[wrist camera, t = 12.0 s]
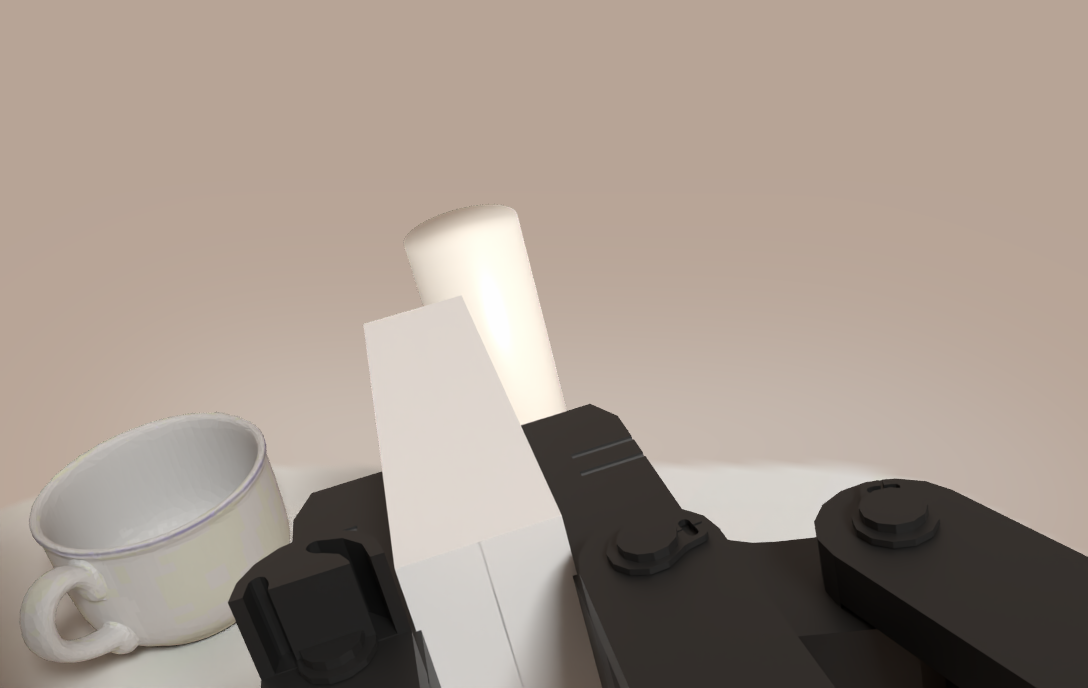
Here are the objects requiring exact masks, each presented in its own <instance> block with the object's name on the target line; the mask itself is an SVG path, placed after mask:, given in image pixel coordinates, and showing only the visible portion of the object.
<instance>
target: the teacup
mask: <svg viewBox="0 0 1088 688" xmlns="http://www.w3.org/2000/svg"><path fill="white" fill-rule="evenodd" d="M29 526H30V530H31V532H32V535H33V538H34V539H35V540H36V541H37V542H38V543H39V544H40V545H41V546H42V547H43V548H44V550H45V552H46V554H47V555H48V557H49V559H50V561H51V563H52V565H53V567H54V569H52V570H50V571H48V572H46V573H45V574H44V575H42V576H41V577H40V578H38V579H37V580H36V581H35V582H34V583H33V584H32V586H31V587H30V588H29V590H28V592H27V593H26V595H25V597H24V599H23V602H22V606H21V610H20V628H21V632H22V636H23V639H24V641H25V643H26V645H27V646H28V648H29V649H30V650H31V651H32V652H33V653H35V654H36V655H38V656H39V657H41V658H43V659H45V660H48V661H54V662H60V663H76V662H82V661H86V660H90V659H93V658H97V657H99V656H102V655H104V654H107V653H109V652H112V653H116V654H126V653H130V652H131V651H133V650H134V649H135V648H136V647H137V646H138V645H140V646H172V645H181V644H186V643H191V642H195V641H198V640H201V639H204V638H207V637H209V636H212V635H214V634H216V633H218V632H220V631H222V630H224V629H226V628H228V627H229V626H231V625H232V624H234V623H235V622H236V621H235V618H234V616H233V614H232V611H231V609H230V607H229V605H228V601H229V599H230V596H231V594H232V592H233V589H234V587H235V585H236V583H237V582H238V581H239V580H240V579H241V578H242V577H243V576H244V575H245V574H246V573H247V572H248V570H249V569H250V568H251V567H252V566H253V565H254V564H256V563H257V562H259V561H260V560H262V559H263V558H265V557H266V556H268V555H269V554H271V553H272V552H274V551H275V550H277V549H278V548H280V547H283V546H285V545H287V544H289V540H290V531H289V522H288V517H287V513H286V509H285V506H284V503H283V499H282V496H281V493H280V490H279V487H278V484H277V481H276V478H275V475H274V472H273V470H272V467H271V464H270V462H269V459H268V457H267V454H266V443H265V439H264V436H263V434H262V432H261V431H260V429H259V428H257V427H256V426H255V425H254V424H252V423H251V422H250V421H247V420H245V419H243V418H240V417H238V416H232V415H228V414H225V413H219V412H215V413H191V414H185V415H179V416H173V417H169V418H165V419H161V420H158V421H154V422H150V423H147V424H145V425H141V426H139V427H136V428H134V429H131V430H129V431H126V432H124V433H121V434H119V435H116V436H114V437H112V438H110V439H108V440H106V441H104V442H102V443H100V444H98V445H97V446H95V447H94V448H92V449H90V450H88V451H87V452H85V453H84V454H82V455H80V456H78V458H76V459H75V460H74V461H72V462H70V463H69V464H68V465H67V466H66V467H64V468H63V469H62V470H61V471H60V472H59V473H58V474H56V475H55V476H54V477H53V478H52V479H51V481H50V482H49V483H48V484H47V485H46V486H45V487H44V488H43V489H42V491H41V492H40V494H39V495H38V497H37V498H36V500H35V501H34V504H33V506H32V509H31V513H30V518H29ZM65 593H68V594H69V596H70V597H71V599H72V601H73V602H74V604H75V605H76V607H77V608H78V610H79V611H80V613H81V614H82V615H83V617H84V618H85V619H86V620H87V621H88V622H89V623H90V624H91V625H92V626H93V627H94V628H95V629H96V630H97V631H95V632H93V633H91V634H89V635H87V636H85V637H82V638H79V639H75V640H64V639H62V638H61V637H60V635H59V633H58V631H57V629H56V623H55V615H56V609H57V606H58V604H59V601H60V599H61V598H62V597H63V596H64V595H65Z"/></svg>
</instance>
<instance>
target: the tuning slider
mask: <svg viewBox="0 0 1088 688" xmlns="http://www.w3.org/2000/svg"><path fill="white" fill-rule="evenodd" d="M403 243H404V248H405V251H406V254H407V257H408V260H409V263H410V267H411V270H412V273H413V276H414V279H415V283H416V285H417V289H418V292H419V295H420V298H421V301H422V305H423V306H427V305H430V304H433V303H437V302H440V301H444V300H447V299H451V298H454V297H457V296H461V295H462V298H463V300H464V302H465V304H466V306H467V309H468V311H469V313H470V315H471V317H472V320H473V322H474V324H475V326H476V328H477V331H478V333H479V335H480V337H481V339H482V342H483V344H484V346H485V348H486V350H487V353H488V355H489V357H490V359H491V361H492V363H493V366H494V368H495V370H496V372H497V374H498V377H499V379H500V381H501V383H502V385H503V388H504V390H505V392H506V394H507V396H508V399H509V401H510V403H511V405H512V407H513V410H514V412H515V414H516V416H517V418H518V421H519V423H520V425H523V424H527V423H530V422H533V421H536V420H540V419H543V418H546V417H549V416H553V415H556V414H559V413H562V412H565V411H567V410H566V406H565V402H564V398H563V394H562V390H561V386H560V382H559V378H558V374H557V370H556V366H555V362H554V358H553V354H552V350H551V346H550V342H549V338H548V334H547V330H546V326H545V322H544V319H543V315H542V310H541V306H540V302H539V298H538V294H537V290H536V287H535V283H534V279H533V275H532V271H531V267H530V263H529V259H528V255H527V251H526V247H525V243H524V239H523V235H522V231H521V228H520V224H519V219H518V215H517V212H516V211H515V210H514V209H513V208H511V207H508V206H504V205H495V204H486V205H476V206H469V207H465V208H460V209H456V210H452V211H449V212H446V213H443V214H441V215H438V216H436V217H433V218H431V219H429V220H427V221H425V222H423V223H421V224H420V225H418V226H417V227H415V228H414V229H413V230H411V231H410V232H409V233H408V234H407V236H406V237H405V239H404V242H403Z"/></svg>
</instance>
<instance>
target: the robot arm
mask: <svg viewBox="0 0 1088 688" xmlns="http://www.w3.org/2000/svg"><path fill="white" fill-rule="evenodd" d="M364 332H365V340H366V347H367V356H368V363H369V370H370V378H371V387H372V394H373V402H374V411H375V418H376V426H377V433H378V442H379V449H380V458H381V465H382V472H379V473H376V474H372V475H369V476H366V477H363V478H360V479H356V480H353V481H350V482H347V483H343V484H340V485H337V486H334V487H331V488H327V489H324V490H321V491H318V492H314V493H312V494H311V495H310V497H309V498H308V500H307V501H306V503H305V504H304V506H303V507H302V509H301V510H300V512H299V513H298V515H297V516H296V518H295V519H294V522H293V542H292V543H290V544H287V545H285V546H283V547H280V548H278V549H277V550H275V551H274V552H272V553H271V554H269V555H268V556H266V557H265V558H263V559H262V560H260V561H259V562H257V563H256V564H254V565H253V566H252V567H251V568H250V569H249V570H248V572H247V573H246V574H245V575H244V576H243V577H242V578H241V579H240V580H239V581H238V582H237V583H236V585H235V587H234V589H233V592H232V594H231V596H230V599H229V601H228V605H229V607H230V609H231V611H232V614H233V616H234V618H235V621H236V623H237V625H238V627H239V630H240V632H241V634H242V637H243V639H244V641H245V643H246V646H247V648H248V650H249V653H250V655H251V657H252V660H253V662H254V664H255V666H256V669H257V671H258V673H259V676H260V678H261V688H1088V557H1087V556H1085V555H1083V554H1081V553H1079V552H1077V551H1075V550H1073V549H1071V548H1069V547H1067V546H1065V545H1063V544H1061V543H1058V542H1056V541H1054V540H1052V539H1050V538H1048V537H1046V536H1044V535H1042V534H1040V533H1038V532H1036V531H1034V530H1032V529H1030V528H1028V527H1026V526H1024V525H1022V524H1020V523H1018V522H1016V521H1014V520H1012V519H1010V518H1008V517H1006V516H1004V515H1002V514H1000V513H998V512H996V511H994V510H992V509H990V508H988V507H986V506H984V505H982V504H979V503H977V502H975V501H973V500H971V499H969V498H967V497H965V496H963V495H961V494H959V493H957V492H955V491H953V490H951V489H947V488H944V487H941V486H938V485H935V484H932V483H929V482H926V481H917V480H905V479H885V480H880V481H878V480H877V481H872V482H865V483H862V484H860V485H857V486H854V487H851V488H848V489H846V490H843V491H840V492H839V493H838V494H836V495H835V496H834V497H832V498H831V499H830V500H828V501H827V502H826V503H824V504H823V505H822V507H821V509H820V511H819V513H818V515H817V517H816V519H815V521H814V523H815V530H816V537H815V538H806V539H797V540H788V541H779V542H761V543H749V542H740V541H731V540H727V538H726V537H725V536H724V534H723V533H722V532H721V530H720V529H719V528H718V527H717V526H716V525H715V524H713V523H712V522H711V521H710V520H708V519H707V518H706V517H705V516H703V515H700V514H697V513H693V512H690V511H687V510H683V509H681V507H680V506H679V504H678V503H677V501H676V500H675V498H674V497H673V495H672V494H671V493H670V491H669V490H668V488H667V487H666V485H665V484H664V482H663V481H662V480H661V478H660V477H659V475H658V474H657V472H656V471H655V469H654V468H653V467H652V465H651V464H650V462H649V461H648V459H647V458H646V456H644V455H643V452H642V451H641V449H640V448H639V446H638V445H637V443H636V442H635V440H632V437H631V435H630V433H629V432H628V430H627V429H626V427H625V426H624V425H623V423H622V422H621V420H620V419H619V418H618V416H616V415H614V414H612V413H610V412H607V411H605V410H603V409H601V408H598V407H596V406H594V405H591V404H588V405H585V406H582V407H578V408H575V409H572V410H569V411H565V412H562V413H559V414H556V415H553V416H549V417H546V418H543V419H540V420H536V421H533V422H530V423H527V424H523V425H520V423H519V421H518V418H517V416H516V414H515V412H514V410H513V407H512V405H511V403H510V401H509V399H508V396H507V394H506V392H505V390H504V388H503V385H502V383H501V381H500V379H499V377H498V374H497V372H496V370H495V368H494V366H493V363H492V361H491V359H490V357H489V355H488V353H487V350H486V348H485V346H484V344H483V342H482V339H481V337H480V335H479V333H478V331H477V328H476V326H475V324H474V322H473V320H472V317H471V315H470V313H469V311H468V309H467V306H466V304H465V302H464V300H463V298H462V295H461V296H457V297H454V298H451V299H447V300H444V301H440V302H437V303H433V304H430V305H427V306H423V307H420V308H416V309H413V310H409V311H406V312H403V313H399V314H396V315H392V316H389V317H386V318H382V319H379V320H376V321H372V322H368V323H365V324H364Z"/></svg>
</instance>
